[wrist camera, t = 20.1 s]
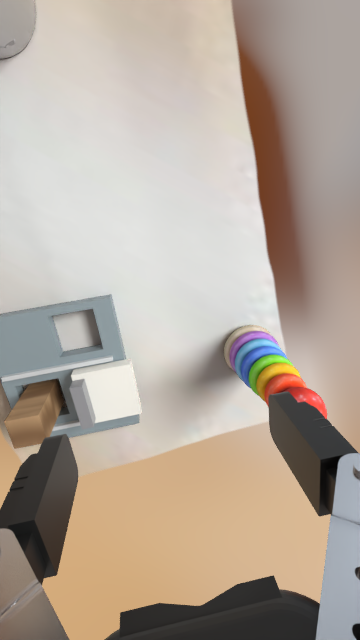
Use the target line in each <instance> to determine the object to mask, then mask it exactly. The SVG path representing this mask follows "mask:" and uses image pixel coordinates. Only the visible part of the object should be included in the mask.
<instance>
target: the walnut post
mask: <svg viewBox="0 0 360 640" xmlns="http://www.w3.org/2000/svg"><path fill="white" fill-rule="evenodd" d="M63 403H64V400H63V397H62V393H61V390H60V387H59V384H58V380H57V379H52V380H46V381H41V382H36V383H31V384H29V385H28V386H27V388H26V389H25V391H24V392H23V394H22V395H21V397H20V398H19V400H18V401H17V403H16V404H15V406H14V408H13V409H12V411H11V412H10V414H9V415H8V417H7V418H6V420H5V421H4V423H5V425H6V428H7V430H8V433H9V436H10V438H11V441H12V443H13V446H14V448H15V449H16V448H21V447H26V446H31V445H36V444H41V443H42V442H43V440H44V438H46V437H50V435H51V433H52V430H53V428H54V425H55V423H56V420H57V418H58V415H59V413H60V410H61V408H62V405H63Z"/></svg>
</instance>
